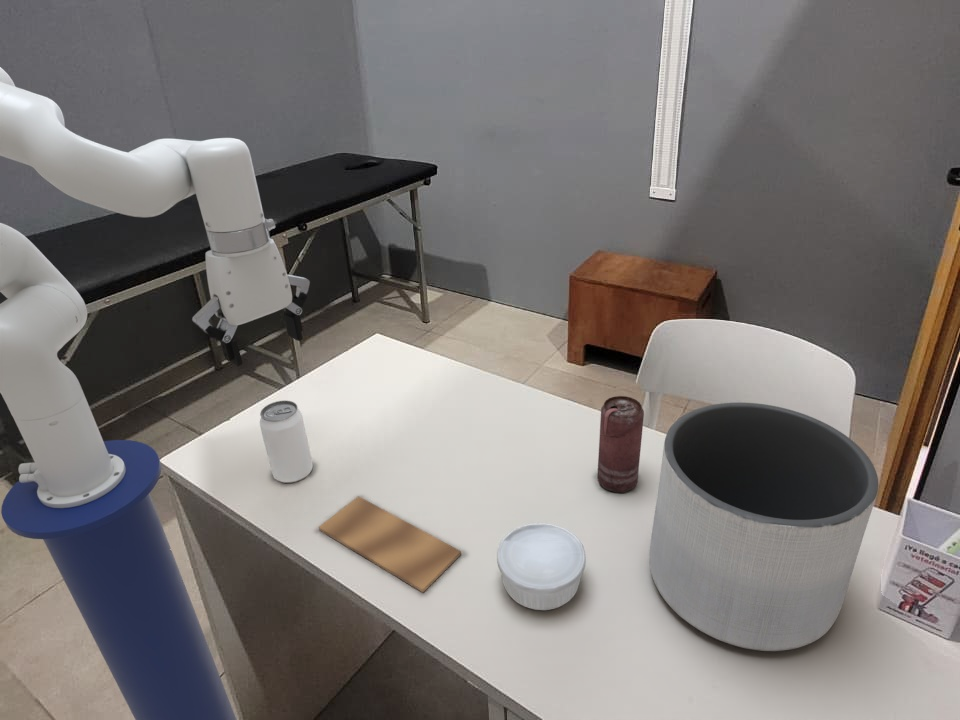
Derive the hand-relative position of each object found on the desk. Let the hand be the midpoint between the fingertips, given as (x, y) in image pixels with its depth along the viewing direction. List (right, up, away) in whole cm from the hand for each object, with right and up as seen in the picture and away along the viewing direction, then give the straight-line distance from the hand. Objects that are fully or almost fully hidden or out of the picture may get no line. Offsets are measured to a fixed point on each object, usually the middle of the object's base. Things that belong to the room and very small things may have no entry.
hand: (266, 350), depth 94 cm
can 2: (+52, -20, +6) cm, 56 cm away
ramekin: (+39, -30, -11) cm, 51 cm away
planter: (+64, -30, -12) cm, 72 cm away
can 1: (+1, -20, +12) cm, 23 cm away
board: (+18, -27, -3) cm, 33 cm away
